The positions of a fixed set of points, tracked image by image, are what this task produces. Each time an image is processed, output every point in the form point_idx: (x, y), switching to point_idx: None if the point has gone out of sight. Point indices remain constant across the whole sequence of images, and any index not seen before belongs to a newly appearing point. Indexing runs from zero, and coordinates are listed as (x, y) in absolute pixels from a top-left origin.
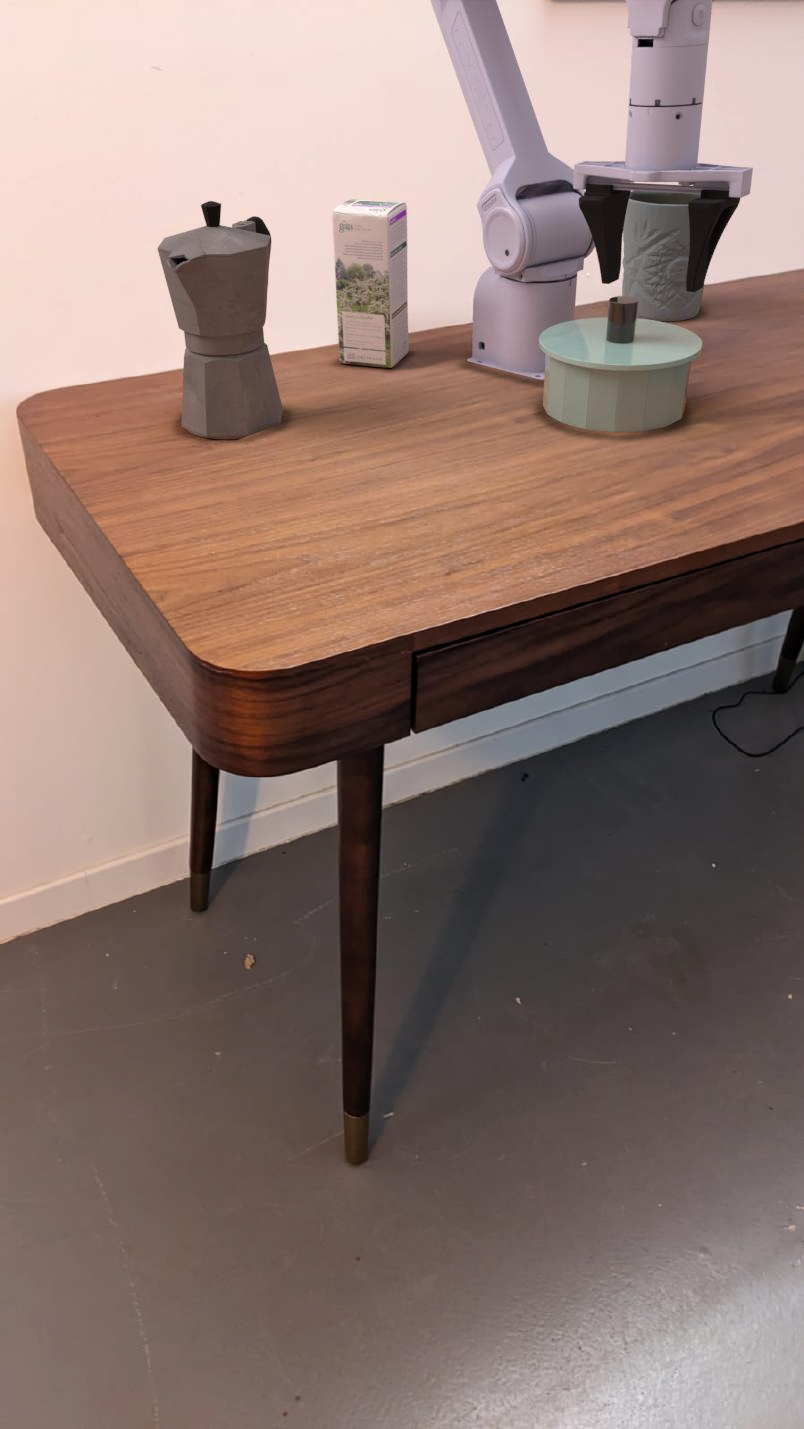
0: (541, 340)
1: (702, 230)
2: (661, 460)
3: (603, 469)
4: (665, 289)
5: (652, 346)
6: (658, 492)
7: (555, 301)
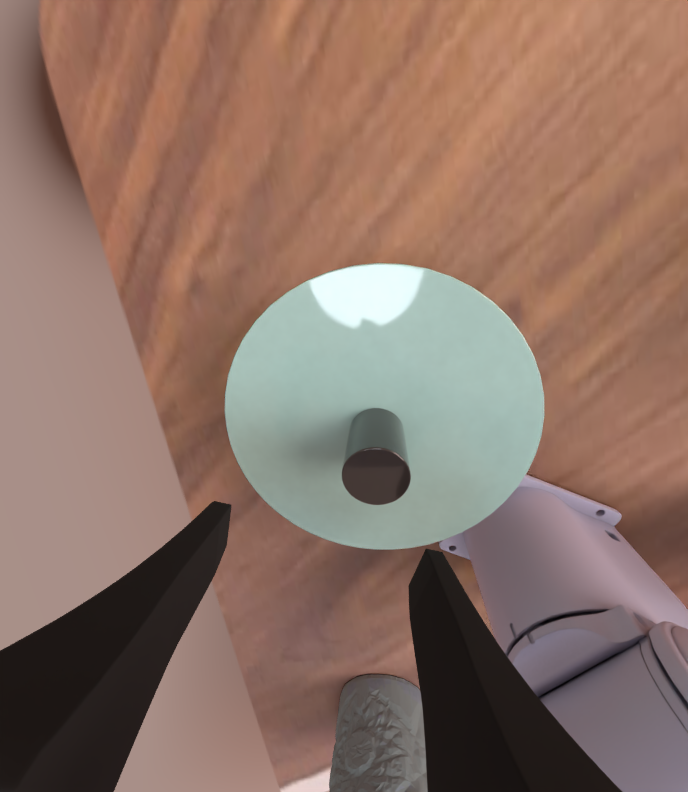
0: (538, 389)
1: (75, 632)
2: (271, 212)
3: (346, 132)
4: (374, 718)
5: (308, 406)
6: (240, 55)
7: (528, 583)
